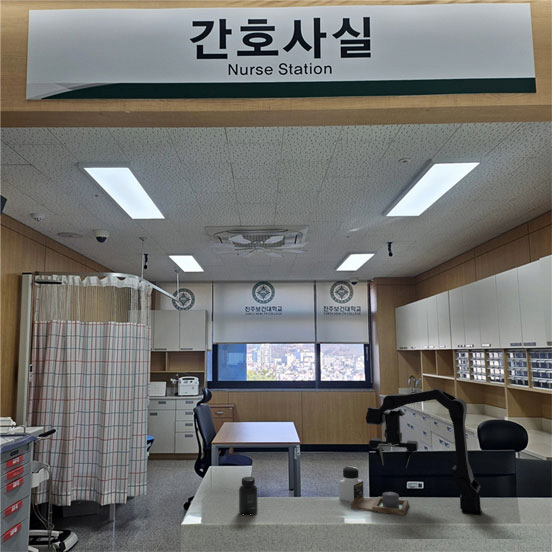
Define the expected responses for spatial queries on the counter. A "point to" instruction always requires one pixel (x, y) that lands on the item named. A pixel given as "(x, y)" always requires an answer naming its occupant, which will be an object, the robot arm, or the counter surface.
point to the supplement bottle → (248, 496)
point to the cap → (390, 500)
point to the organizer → (378, 505)
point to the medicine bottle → (350, 485)
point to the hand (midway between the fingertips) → (394, 466)
